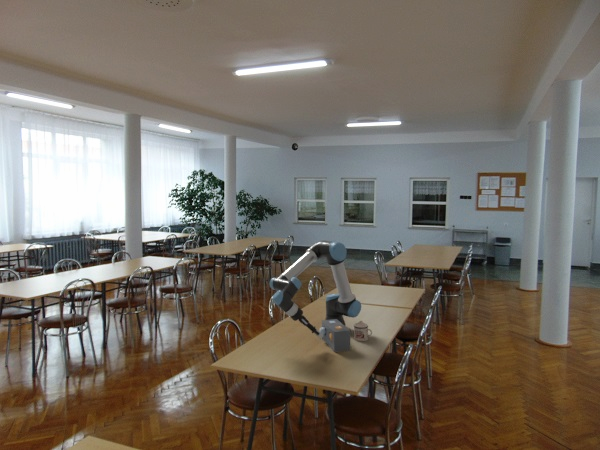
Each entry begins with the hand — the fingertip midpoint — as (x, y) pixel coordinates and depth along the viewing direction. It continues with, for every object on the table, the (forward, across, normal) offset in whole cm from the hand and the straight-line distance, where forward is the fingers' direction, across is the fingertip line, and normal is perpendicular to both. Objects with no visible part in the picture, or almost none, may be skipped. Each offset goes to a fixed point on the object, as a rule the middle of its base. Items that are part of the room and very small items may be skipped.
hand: (321, 337), depth 249 cm
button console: (+13, -5, +2) cm, 14 cm away
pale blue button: (+5, -11, +2) cm, 12 cm away
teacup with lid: (+27, -9, +16) cm, 32 cm away
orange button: (+7, +1, +3) cm, 8 cm away
